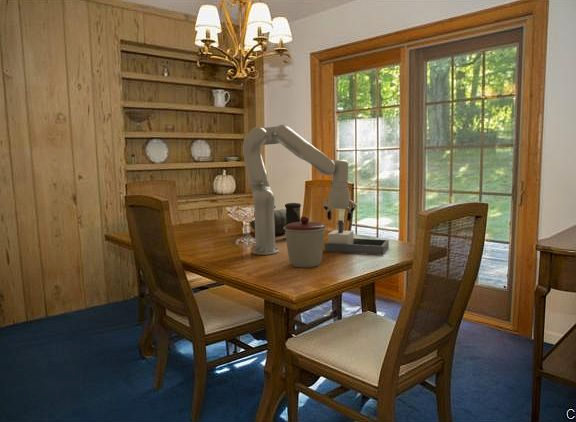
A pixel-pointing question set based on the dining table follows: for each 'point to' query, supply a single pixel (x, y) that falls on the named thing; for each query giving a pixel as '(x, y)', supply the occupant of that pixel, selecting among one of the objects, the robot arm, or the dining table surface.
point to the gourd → (277, 221)
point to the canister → (305, 242)
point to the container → (292, 212)
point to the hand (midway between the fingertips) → (339, 220)
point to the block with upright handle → (340, 235)
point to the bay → (360, 246)
